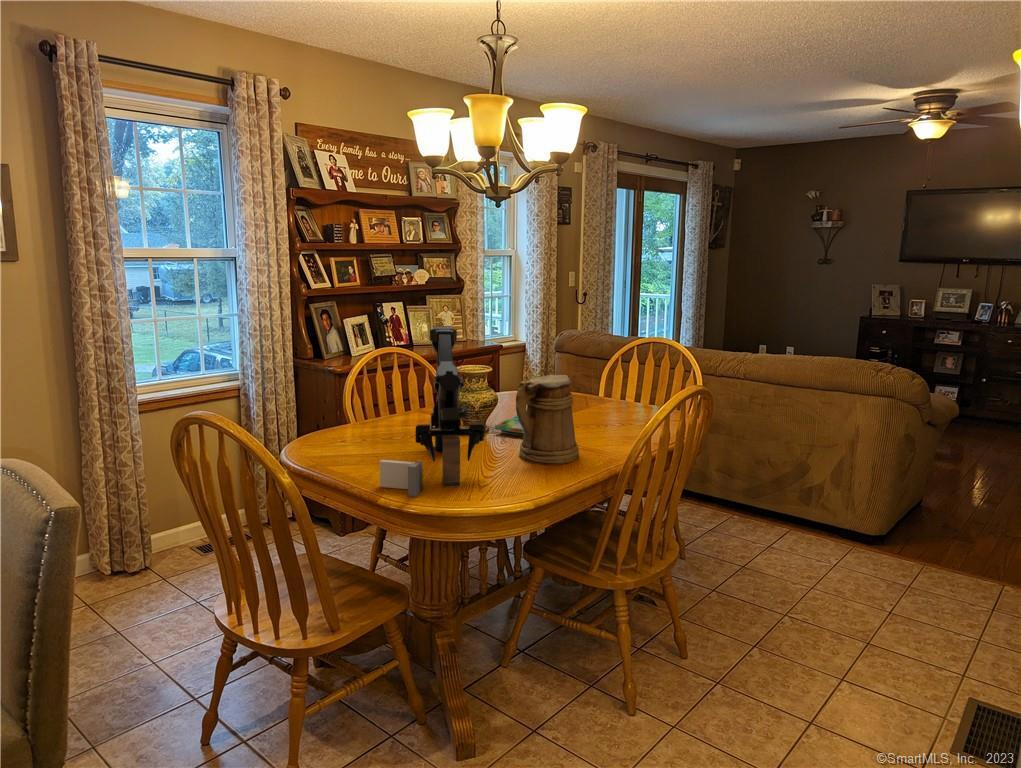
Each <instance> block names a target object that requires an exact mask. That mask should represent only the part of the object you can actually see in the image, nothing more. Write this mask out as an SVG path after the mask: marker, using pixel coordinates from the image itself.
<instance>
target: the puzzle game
mask: <svg viewBox="0 0 1021 768" xmlns="http://www.w3.org/2000/svg"><path fill="white" fill-rule="evenodd" d="M494 429H495V430H499V431H501V433H502V434H506V435H513V436H520V437H523V435H524V429H523V427H522V425H521V423H520V421H519V419H518V416H517V414H516V415H514V416H512V417H510V418H508V419H506V420H503V421H502V422H499V423H497V424H495V425H494Z"/></svg>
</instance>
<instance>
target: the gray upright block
mask: <svg viewBox="0 0 1021 768" xmlns="http://www.w3.org/2000/svg"><path fill="white" fill-rule="evenodd" d="M420 491H421V490H420V484H419V464H418V463H411V464H410V465H409V466H408V489H407V497H412V498H413V497H414V498H416V497H417V496H419V494H420V493H421V492H420Z"/></svg>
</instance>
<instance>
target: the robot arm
mask: <svg viewBox="0 0 1021 768" xmlns="http://www.w3.org/2000/svg"><path fill="white" fill-rule="evenodd" d="M457 332H458V330H457V329H454V328H453V326H452V325H451V326H450V325H447V326H446V325H436V326H435V325H433V327H432V329H429V341H430V342H431V348H432V349H433V351H434V353H435V355H436V371H435V376H433V389H435V391H436V393H437V401H436V403H435V404H434V406H433V407H432V412H431V413H430V423H428V424H425V423H423V424H417V425H416V426H415V432H414V433H415V436H414V437H415V443H417V444H420V446H424V447H425V449H426V450H427V451H428V453H429V455H430V457H431V460H432V462H433V463H435V462H436V457H435V456H436V455H435V454H436V453H435V452H437V453H440V454H443V438H442V436H448V435H459V437H468V443H467V456H466V457H467V461H470V459H471V456H472V452H473V450H474V448H475V445H478V444H480V442H483V441H485V439H484V438H485V433H486V428H485V425H484V424H483V423H482V422H479V423H478V422H476V423H475V422H474V423H469V428H461V426H462V419H466V418H467V417H468V413H467V412H468V411H467V405H460V404H459V397H460V392H461V391H460V390H461V389H462V388H463V387H464V385H465V382H464V380H463V379H462V377H461V375H459V369H458V368H457V366H455V364H454V357H453V349H454V347H455V342H457V341H458V339H457V337H458V336H457V335H458V333H457ZM433 437H434V443H433Z"/></svg>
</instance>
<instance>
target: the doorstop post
mask: <svg viewBox="0 0 1021 768" xmlns="http://www.w3.org/2000/svg"><path fill="white" fill-rule="evenodd" d="M442 438H443V453H442V479H441V480H442V481H441V482H442V485H443V486H442V487H443V488H451V487H450V486H460V487H461V437H460V436H459V435H448V436H442Z"/></svg>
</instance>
